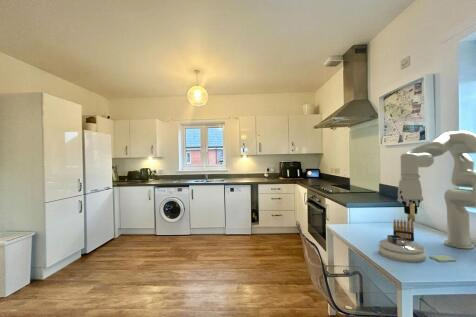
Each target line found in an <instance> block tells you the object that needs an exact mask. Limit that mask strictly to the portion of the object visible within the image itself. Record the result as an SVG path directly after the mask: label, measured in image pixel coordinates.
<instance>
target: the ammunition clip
mask: <svg viewBox="0 0 476 317" xmlns="http://www.w3.org/2000/svg"><path fill="white" fill-rule="evenodd" d="M403 220H404V221H403ZM392 228H393V229H392V230H393V232H392V233H393V234H392V235H399V236H401V237H403V238H404V241H410V242H415V229H414V222H411V221H406V220H405V219H400V221H399V219H397V221H396V218H394V219H393V227H392Z"/></svg>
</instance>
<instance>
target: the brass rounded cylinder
mask: <svg viewBox="0 0 476 317" xmlns="http://www.w3.org/2000/svg"><path fill="white" fill-rule="evenodd" d="M409 206H410V214H406V215H407V219H406V220H407V221H406V222H408V221H409V222H410V223H411V222H413V223H414V222H416V214H415V203H412V202H409Z"/></svg>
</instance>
